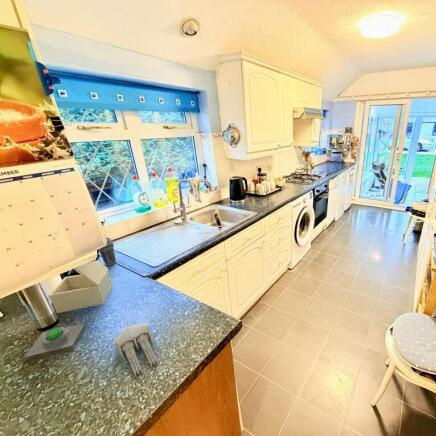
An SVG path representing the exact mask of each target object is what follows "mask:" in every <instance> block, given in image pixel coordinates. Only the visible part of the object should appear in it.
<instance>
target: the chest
mask: <svg viewBox="0 0 436 436" xmlns="http://www.w3.org/2000/svg"><path fill="white" fill-rule="evenodd" d="M113 287H114V285H113V282H112V279H111V275H110V271H109V269H108V270H107V272H106V274H105V275H104V277H103V279H102V280H101V282H100V284H99V285H98V286H96V285H94V284H93V283H92V282H90V281H89V280H88V279H86V278H85V277H84V276H82V275H81V274H76V275H70V276H65V277H63V279H62V280H61V281H60V282H59V283H58V284H57V286H56V287H55V288H54V289H53V290H52V291H51V293H49V298H50V301H51V303H52V305H53V307H54V310H55V312H56V314H60V313H65V312H70V311H74V310H76V311H77V310H81V309H84V308H85V309H86V308H90V307H94V306H101V305H105V304H106V303H105V302H107V299H108V297H109V296H110V293H111V291H112V289H113Z"/></svg>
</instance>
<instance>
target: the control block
mask: <svg viewBox="0 0 436 436" xmlns="http://www.w3.org/2000/svg"><path fill="white" fill-rule="evenodd" d="M59 328H60V329H61V331H62V335H60V336H59V337H58V338H56V339H53V340H48V339H47V337H46V333H47V332H48V331H43V332H41V334H40V335H39V336H38V338H37V339H36V341H34V343H33V344H32V346H31V347H30V348H29V349H28V351H27V352H26V353H25V355H24V356H23V358H24V360H25V362H26V363H28V362H33V361H37V360H41V359H44V358H48V357H52V356H56V355H61V354H65V353H69V352H72V351H75V349H76V348H77V346H78V344H79V342H80V340H81V338H82V336H83V335H84V333H85V330H86V329H87V327H86V325H85V323H81V324H80V323H79V324H76V325H71V326H67V327H64V326H61V327H59Z"/></svg>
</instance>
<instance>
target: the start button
mask: <svg viewBox="0 0 436 436" xmlns="http://www.w3.org/2000/svg"><path fill="white" fill-rule="evenodd" d="M60 328H61V327H54V328H52V329H50V330H49V331H48V330H47V331H46V332H47V333H46V337H47V339H48V340H53V339H56V338H58V337H59V336H60V335H62V331H61V329H60Z"/></svg>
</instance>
